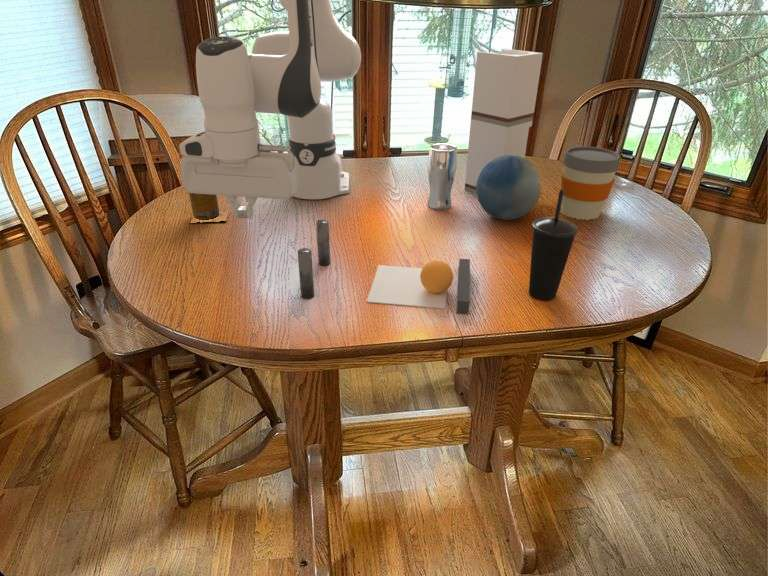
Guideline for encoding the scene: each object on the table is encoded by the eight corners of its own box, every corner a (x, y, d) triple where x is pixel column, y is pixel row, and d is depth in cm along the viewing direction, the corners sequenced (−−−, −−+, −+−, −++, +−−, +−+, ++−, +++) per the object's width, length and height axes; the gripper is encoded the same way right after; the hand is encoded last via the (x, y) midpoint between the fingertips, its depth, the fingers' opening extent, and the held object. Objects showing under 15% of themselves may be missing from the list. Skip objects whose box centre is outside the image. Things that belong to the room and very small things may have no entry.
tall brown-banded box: (521, 192, 144) (542, 53, 126) (497, 201, 138) (516, 56, 120) (488, 181, 151) (504, 48, 133) (464, 190, 145) (477, 51, 127)
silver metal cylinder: (443, 212, 131) (448, 152, 123) (420, 206, 134) (423, 147, 127) (458, 204, 136) (463, 146, 128) (435, 198, 139) (438, 141, 132)
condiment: (195, 212, 129) (186, 164, 123) (230, 211, 130) (223, 163, 124) (189, 224, 123) (179, 174, 117) (226, 223, 124) (218, 173, 118)
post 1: (303, 291, 97) (299, 247, 93) (315, 292, 97) (313, 248, 92) (299, 298, 95) (295, 253, 91) (312, 299, 95) (309, 254, 90)
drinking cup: (556, 283, 101) (576, 182, 91) (569, 304, 94) (593, 198, 84) (516, 283, 101) (532, 182, 91) (527, 305, 94) (545, 198, 84)
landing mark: (378, 265, 106) (378, 265, 106) (448, 271, 105) (448, 270, 105) (366, 302, 94) (366, 301, 94) (445, 309, 93) (445, 308, 93)
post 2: (320, 260, 108) (317, 219, 104) (331, 260, 108) (329, 220, 103) (317, 265, 106) (314, 224, 102) (328, 266, 106) (326, 224, 101)
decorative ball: (481, 202, 137) (487, 144, 130) (539, 211, 132) (550, 152, 125) (466, 223, 125) (472, 161, 118) (530, 234, 120) (540, 170, 113)
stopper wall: (458, 269, 105) (459, 258, 104) (468, 270, 105) (469, 259, 104) (456, 313, 92) (457, 300, 90) (468, 314, 91) (469, 301, 90)
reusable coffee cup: (553, 219, 128) (564, 158, 121) (554, 201, 139) (565, 144, 131) (608, 225, 125) (623, 163, 117) (605, 207, 135) (619, 148, 128)
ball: (418, 280, 101) (421, 253, 97) (450, 282, 101) (453, 255, 97) (419, 298, 96) (421, 270, 92) (452, 300, 96) (456, 272, 92)
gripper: (298, 140, 92) (303, 214, 99) (186, 134, 94) (200, 206, 102) (287, 151, 86) (293, 228, 94) (169, 145, 89) (185, 220, 96)
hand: (244, 217), depth 98 cm, fingers closed
